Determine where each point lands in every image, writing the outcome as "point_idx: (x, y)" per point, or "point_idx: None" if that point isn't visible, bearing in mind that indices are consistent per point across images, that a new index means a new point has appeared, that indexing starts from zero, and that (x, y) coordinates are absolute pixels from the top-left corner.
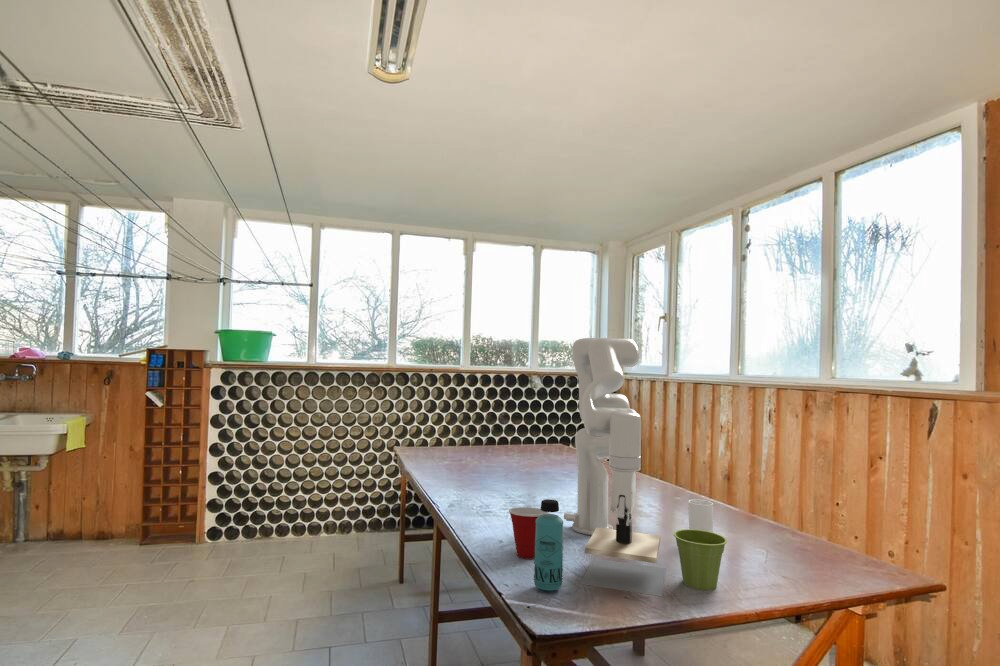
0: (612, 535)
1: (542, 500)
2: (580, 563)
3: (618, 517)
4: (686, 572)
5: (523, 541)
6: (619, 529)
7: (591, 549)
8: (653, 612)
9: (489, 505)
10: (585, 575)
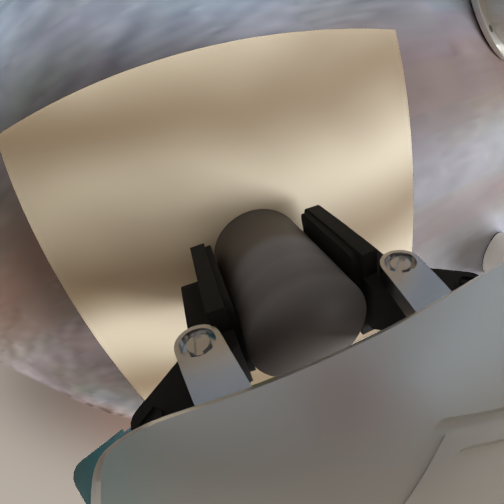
0: (321, 152)
1: None
2: (246, 6)
3: (75, 469)
4: (259, 383)
5: None
6: (188, 323)
7: (10, 171)
8: (54, 359)
9: None
10: None
